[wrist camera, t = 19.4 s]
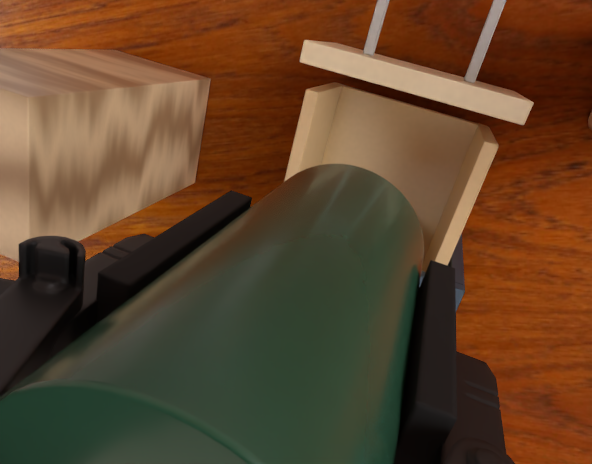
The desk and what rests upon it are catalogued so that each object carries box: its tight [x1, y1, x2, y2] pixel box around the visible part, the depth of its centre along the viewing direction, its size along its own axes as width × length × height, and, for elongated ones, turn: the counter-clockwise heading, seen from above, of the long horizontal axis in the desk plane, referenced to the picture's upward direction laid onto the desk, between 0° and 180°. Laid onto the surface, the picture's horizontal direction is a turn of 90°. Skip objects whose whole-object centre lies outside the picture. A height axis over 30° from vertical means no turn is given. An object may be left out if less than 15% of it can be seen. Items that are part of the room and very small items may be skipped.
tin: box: [0, 164, 424, 464], centre depth 12 cm, size 6×6×12 cm
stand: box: [0, 48, 211, 262], centre depth 32 cm, size 9×9×18 cm
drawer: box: [284, 0, 534, 272], centre depth 30 cm, size 21×12×8 cm, turn 166°
